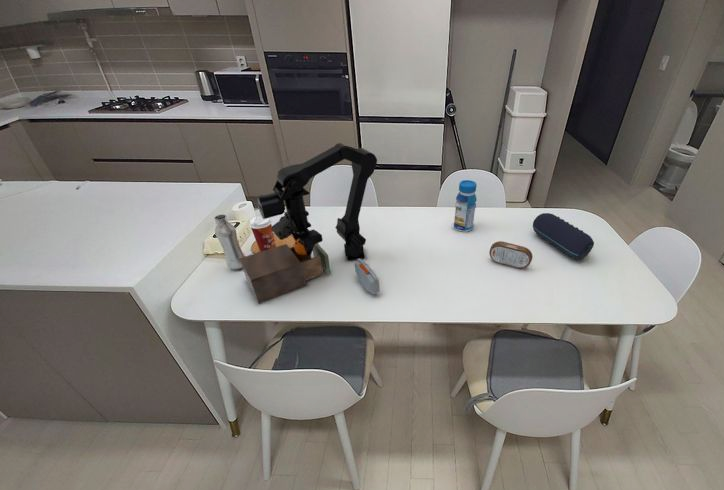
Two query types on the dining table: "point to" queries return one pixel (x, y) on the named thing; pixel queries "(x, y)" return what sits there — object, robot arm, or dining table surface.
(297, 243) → the orange
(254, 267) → the cabinet
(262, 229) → the paper cup
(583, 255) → the portable speaker
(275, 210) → the robot arm
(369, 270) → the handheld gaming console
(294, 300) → the dining table surface
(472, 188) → the beverage bottle
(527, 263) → the tin
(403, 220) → the dining table surface
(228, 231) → the plastic bottle
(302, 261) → the drawer
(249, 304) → the dining table surface
